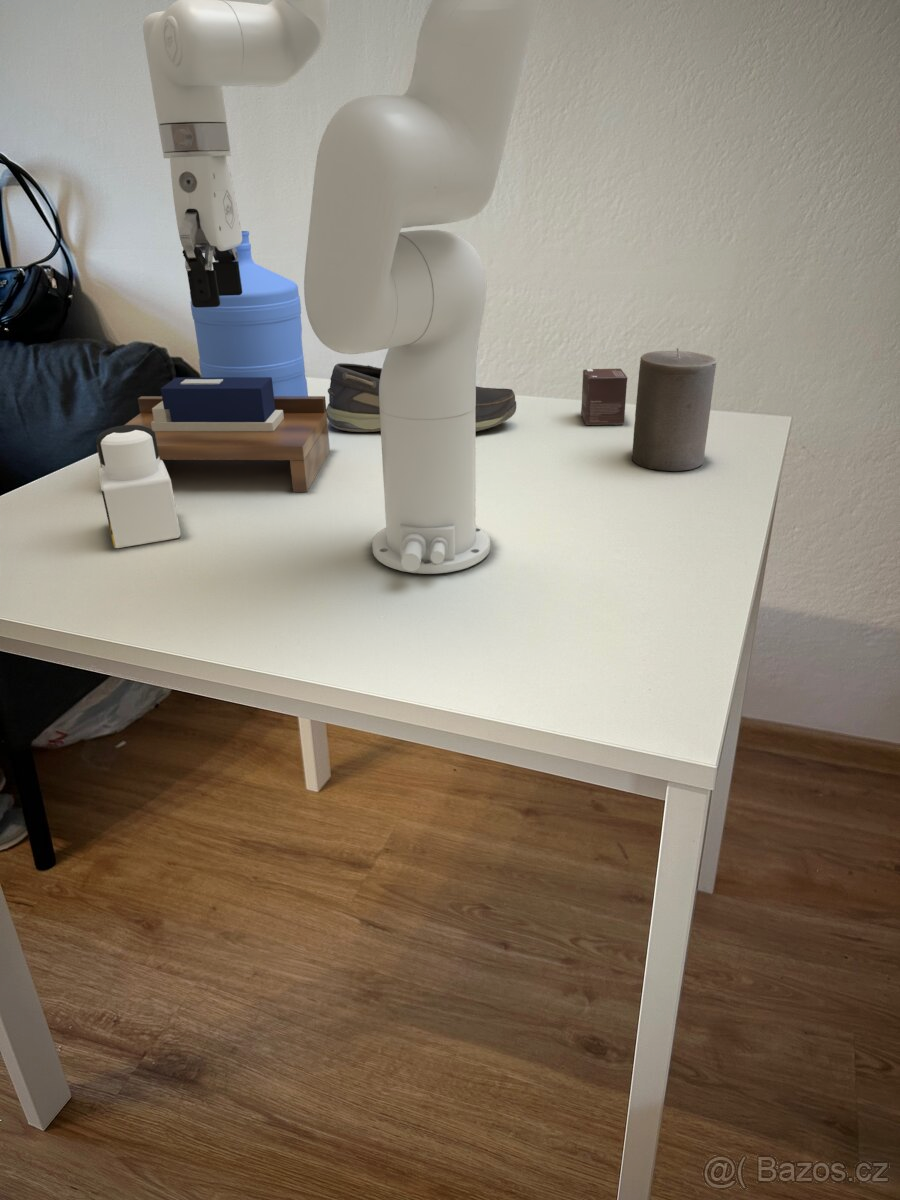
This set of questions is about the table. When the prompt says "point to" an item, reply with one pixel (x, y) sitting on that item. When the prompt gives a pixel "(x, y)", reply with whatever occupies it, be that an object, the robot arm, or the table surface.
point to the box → (603, 396)
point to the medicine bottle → (136, 487)
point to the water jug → (254, 329)
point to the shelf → (254, 439)
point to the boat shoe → (361, 410)
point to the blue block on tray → (217, 405)
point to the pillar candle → (673, 409)
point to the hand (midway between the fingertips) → (218, 300)
